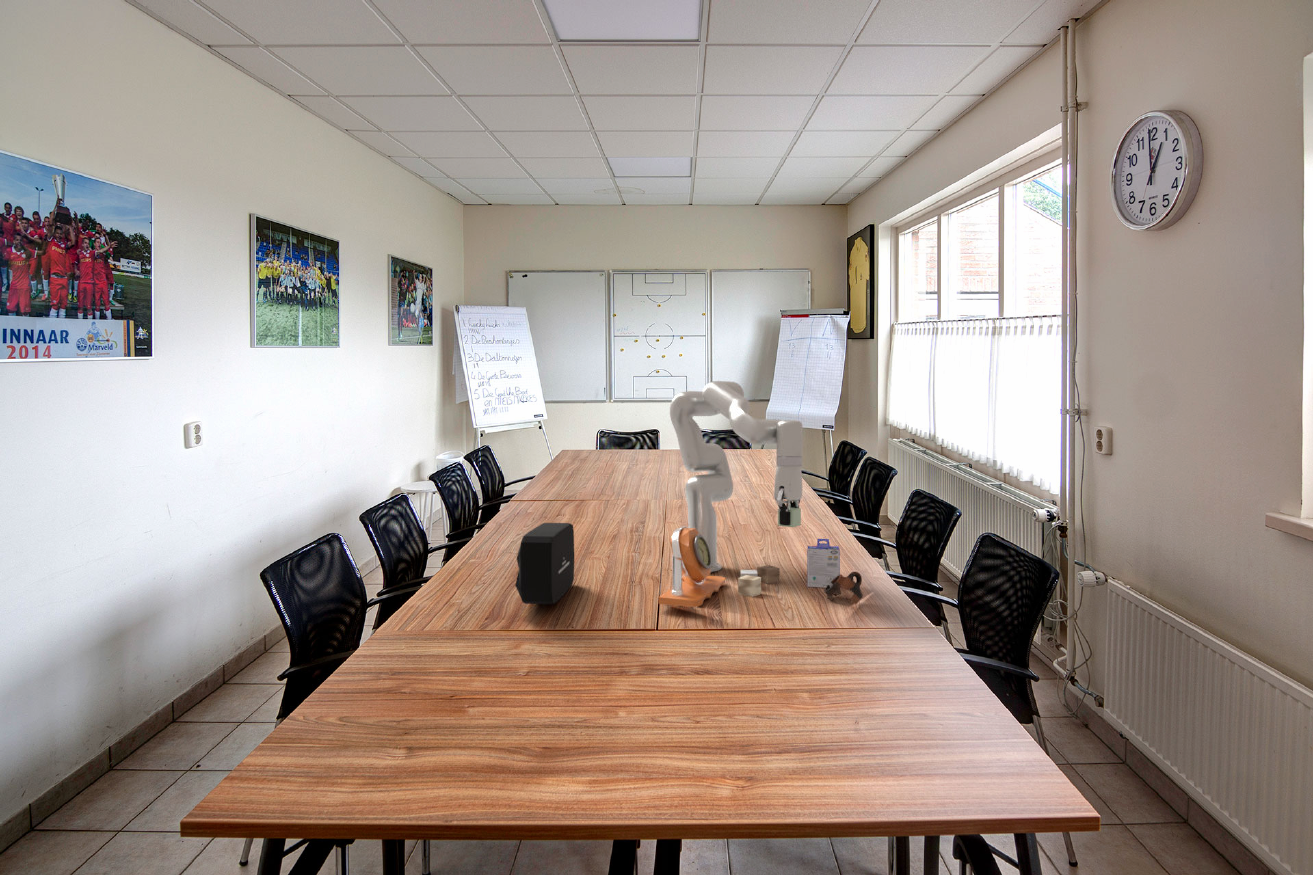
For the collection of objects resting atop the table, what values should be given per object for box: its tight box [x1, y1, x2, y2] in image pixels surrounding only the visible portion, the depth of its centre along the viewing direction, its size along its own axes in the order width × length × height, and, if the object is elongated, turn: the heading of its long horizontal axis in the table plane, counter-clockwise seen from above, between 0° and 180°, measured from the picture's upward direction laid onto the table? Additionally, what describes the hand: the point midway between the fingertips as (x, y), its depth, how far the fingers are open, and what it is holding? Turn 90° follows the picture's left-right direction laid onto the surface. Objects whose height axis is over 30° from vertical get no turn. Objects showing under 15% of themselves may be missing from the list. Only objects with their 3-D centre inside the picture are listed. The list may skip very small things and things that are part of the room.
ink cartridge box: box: [806, 538, 841, 588], centre depth 220 cm, size 10×6×14 cm, turn 79°
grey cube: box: [740, 569, 758, 577], centre depth 218 cm, size 5×5×5 cm
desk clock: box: [658, 526, 726, 608], centre depth 210 cm, size 12×30×20 cm, turn 158°
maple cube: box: [737, 575, 762, 598], centre depth 210 cm, size 5×5×5 cm
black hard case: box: [515, 522, 575, 605], centre depth 210 cm, size 30×12×20 cm, turn 174°
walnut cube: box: [756, 564, 781, 585], centre depth 224 cm, size 5×5×5 cm
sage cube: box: [777, 507, 802, 528], centre depth 208 cm, size 5×5×5 cm
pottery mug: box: [823, 571, 864, 606], centre depth 203 cm, size 12×9×8 cm
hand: (789, 523), depth 209 cm, fingers closed on sage cube, 5 cm apart
